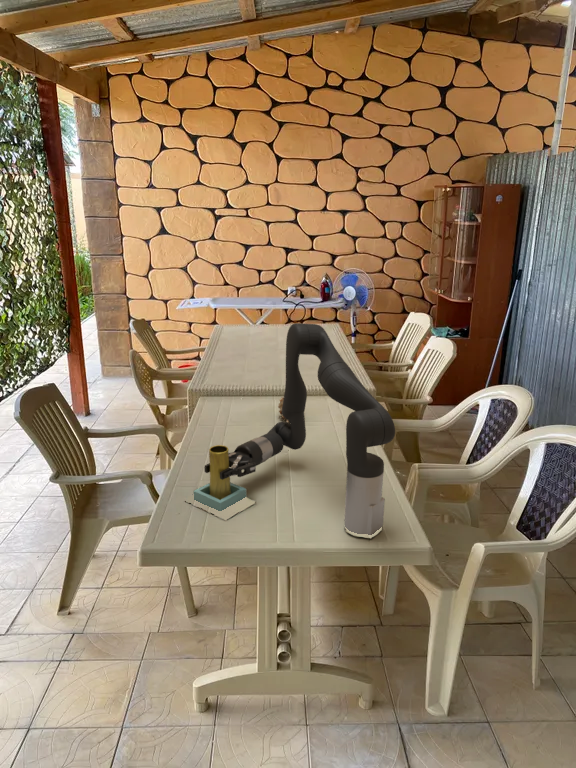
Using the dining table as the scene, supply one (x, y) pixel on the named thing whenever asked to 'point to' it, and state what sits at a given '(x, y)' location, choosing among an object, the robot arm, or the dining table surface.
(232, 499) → the dock
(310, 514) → the dining table surface
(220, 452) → the vase
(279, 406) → the pine cone
